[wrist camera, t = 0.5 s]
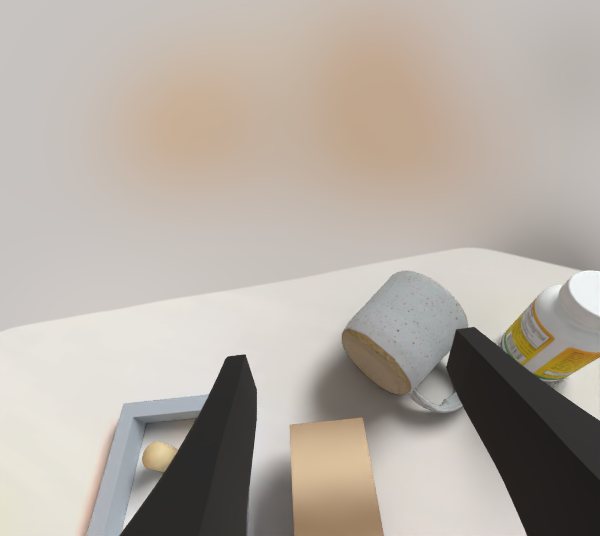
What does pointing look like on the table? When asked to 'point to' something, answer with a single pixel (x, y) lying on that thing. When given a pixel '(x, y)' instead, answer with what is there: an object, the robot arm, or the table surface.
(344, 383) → the table surface
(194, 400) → the peg frame
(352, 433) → the tan rectangular block
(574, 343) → the supplement bottle
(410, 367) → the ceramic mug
